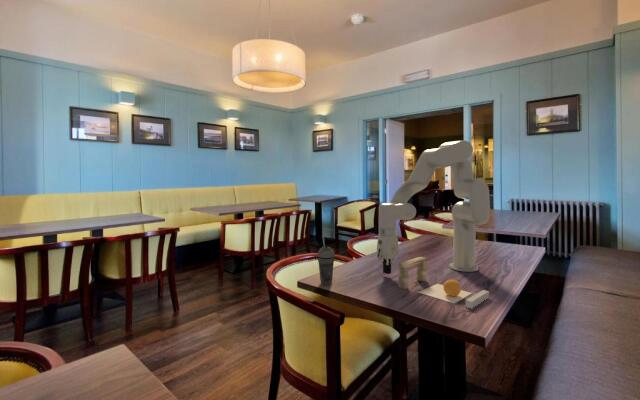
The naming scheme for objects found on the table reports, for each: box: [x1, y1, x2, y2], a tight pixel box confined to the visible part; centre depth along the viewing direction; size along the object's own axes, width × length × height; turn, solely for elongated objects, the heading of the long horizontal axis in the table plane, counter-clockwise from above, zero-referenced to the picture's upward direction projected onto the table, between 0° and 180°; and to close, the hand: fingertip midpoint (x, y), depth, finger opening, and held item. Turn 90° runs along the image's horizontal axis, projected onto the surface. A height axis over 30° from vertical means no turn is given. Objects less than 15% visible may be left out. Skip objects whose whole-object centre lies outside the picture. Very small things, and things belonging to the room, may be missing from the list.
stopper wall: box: [465, 289, 490, 310], centre depth 114 cm, size 14×2×2 cm, turn 131°
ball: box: [443, 279, 462, 296], centre depth 121 cm, size 6×6×6 cm
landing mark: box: [418, 283, 473, 304], centre depth 124 cm, size 14×14×1 cm
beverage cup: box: [317, 235, 336, 287], centre depth 134 cm, size 7×7×20 cm
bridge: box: [398, 256, 427, 290], centre depth 134 cm, size 3×15×10 cm, turn 131°
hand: (387, 273), depth 144 cm, fingers closed
